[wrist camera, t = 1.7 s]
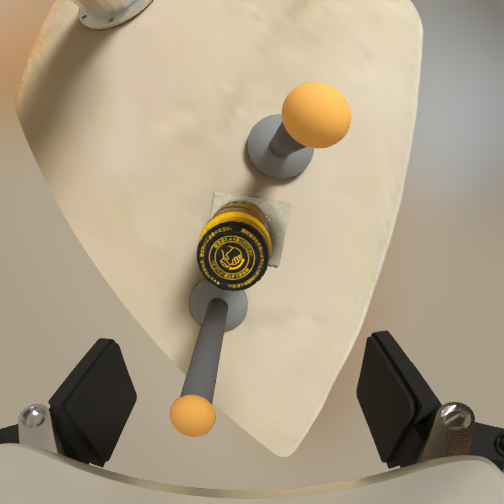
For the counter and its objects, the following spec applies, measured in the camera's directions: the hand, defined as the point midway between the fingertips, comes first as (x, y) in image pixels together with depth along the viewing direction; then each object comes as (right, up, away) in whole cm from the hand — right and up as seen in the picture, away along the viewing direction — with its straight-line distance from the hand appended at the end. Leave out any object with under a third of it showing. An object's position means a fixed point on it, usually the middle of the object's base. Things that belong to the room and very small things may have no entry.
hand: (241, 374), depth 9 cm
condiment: (0, +7, +22) cm, 23 cm away
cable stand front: (+3, +16, +19) cm, 25 cm away
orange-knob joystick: (-4, -2, +25) cm, 25 cm away
